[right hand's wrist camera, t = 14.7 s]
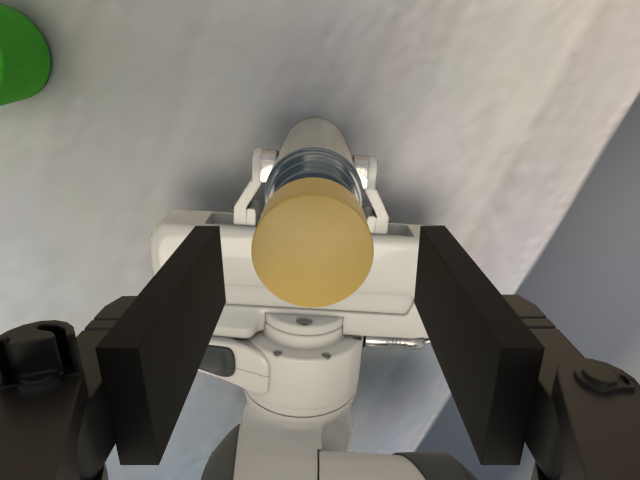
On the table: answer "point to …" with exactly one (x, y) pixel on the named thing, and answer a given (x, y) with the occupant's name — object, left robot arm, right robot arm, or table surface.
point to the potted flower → (21, 57)
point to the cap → (312, 243)
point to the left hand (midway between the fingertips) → (314, 153)
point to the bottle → (314, 158)
